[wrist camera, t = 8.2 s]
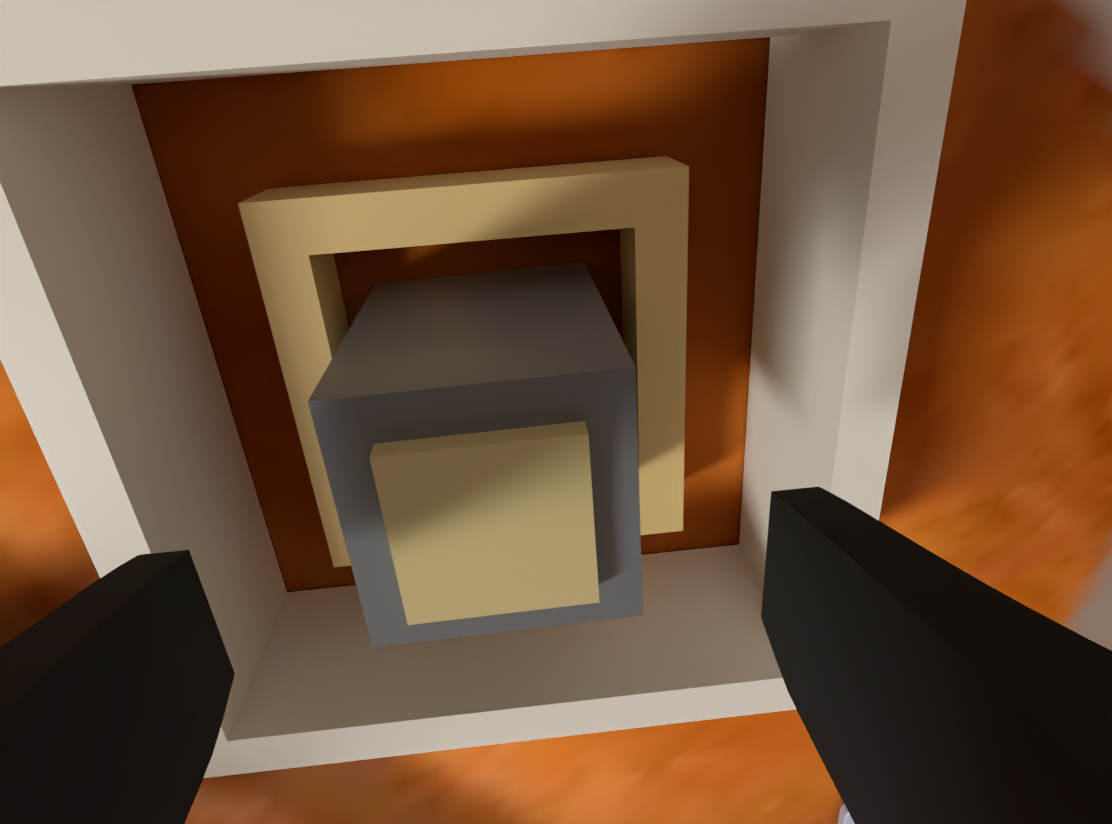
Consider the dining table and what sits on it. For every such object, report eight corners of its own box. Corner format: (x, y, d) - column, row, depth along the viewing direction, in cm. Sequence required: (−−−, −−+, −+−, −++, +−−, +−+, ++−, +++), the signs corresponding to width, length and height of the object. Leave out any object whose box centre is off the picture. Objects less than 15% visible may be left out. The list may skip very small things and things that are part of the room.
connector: (584, 262, 15) (640, 378, 9) (595, 444, 17) (648, 632, 11) (375, 282, 15) (300, 414, 9) (411, 464, 17) (368, 666, 11)
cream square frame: (826, -28, 13) (978, -76, 9) (772, 570, 19) (847, 703, 15) (53, 26, 12) (-162, 3, 8) (257, 625, 18) (191, 779, 14)
